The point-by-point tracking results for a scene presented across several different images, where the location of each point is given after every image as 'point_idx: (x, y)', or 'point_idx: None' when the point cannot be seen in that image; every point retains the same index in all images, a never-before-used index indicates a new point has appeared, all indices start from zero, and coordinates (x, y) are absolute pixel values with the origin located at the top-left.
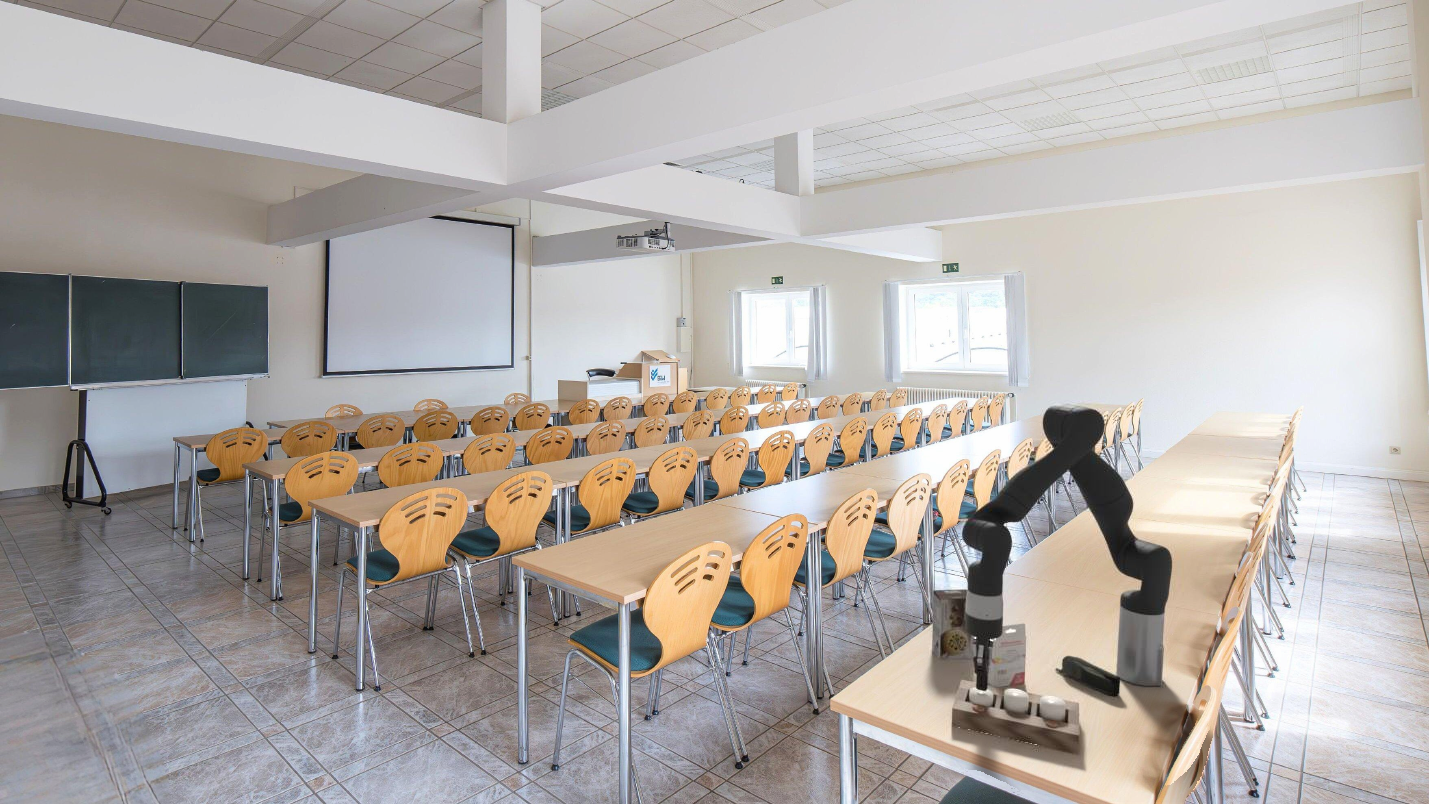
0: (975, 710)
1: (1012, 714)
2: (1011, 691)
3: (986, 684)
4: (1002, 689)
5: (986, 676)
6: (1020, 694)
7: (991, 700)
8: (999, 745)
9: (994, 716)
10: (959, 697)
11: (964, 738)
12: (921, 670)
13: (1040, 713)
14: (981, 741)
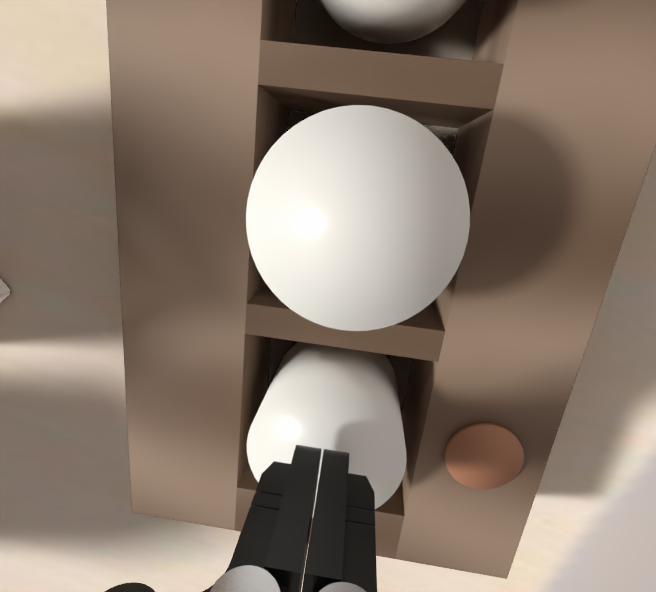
0: (515, 474)
1: (511, 250)
2: (315, 270)
3: (346, 493)
4: (147, 295)
5: (344, 569)
6: (351, 189)
7: (368, 383)
8: (622, 300)
9: (569, 370)
10: None
11: (579, 449)
12: (25, 569)
13: (424, 21)
14: (595, 380)
